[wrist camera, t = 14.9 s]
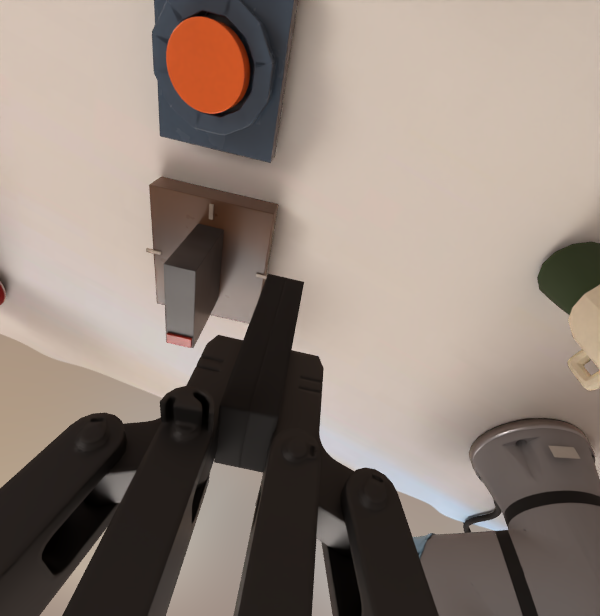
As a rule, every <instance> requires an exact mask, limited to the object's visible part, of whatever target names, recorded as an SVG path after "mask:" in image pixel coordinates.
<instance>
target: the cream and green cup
mask: <svg viewBox="0 0 600 616" xmlns="http://www.w3.org/2000/svg"><path fill="white" fill-rule="evenodd" d="M537 278H538V284H539V289H540V290H541V291H542V292H543V293H544V294H545V295H546V296H547V297H548V298H549V299H550V300H551V301H553V302H554V303H555V304H556V305H557V306H558V307H560V308H561V309H562V310H564V311H565V312H566V313H567V314H569V315H570V316H569V319H568V322H569V325H570V329H571V332H572V335H573V338H574V339H575V341H576V342H577V343H578V344H579V345H580V347H581V348H582V350H581V351H579V352H578V353H577V354H575V355H574V356H572V357H571V358H570V359H569V360H568V362H567V363H568V367H569V368H570V370H571V371H572V372H573V374H574V375H575V376H576V378H577V379H578V380H579V382H580V383H581V384H582V386H583V387H584V388H585V389H587V390H588V391H592V390H596V389H599V388H600V243H595V242H586V243H578V244H572V245H570V246H568V247H565V248H563V249H561V250H559V251H557V252H555V253H554V254H553V255H552V256H551V257H550V258H548V259H547V260H546V261H545V262H544V263H543V264H542V267H541V270H540V272H539V275H538V277H537ZM590 360H592V361H593V362H594V364H595V365H596V366H597V367H598V368H599V371H598V372H596V373H595V374H593V375H592V376H591V375H590V374H589V373H588V371H587V370H586V369H585V367H584V365H585V364H586V363H588V362H589V361H590Z"/></svg>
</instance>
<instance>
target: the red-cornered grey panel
mask: <svg viewBox="0 0 600 616" xmlns="http://www.w3.org/2000/svg"><path fill="white" fill-rule="evenodd" d="M223 236H224V230H223V229H219V228H215V227H211V226H206V225H202V224H197V225H196V227H195V228H194V229H193V230H192V231H191V232H190V234H189V235H188V236H187V237H186V238H185V239H184V241H183V242H182V243H181V244H180V245H179V246H178V248H177V249H176V250H175V251H174V252H173V253H172V255H171V256H170V257H169V258H168V259H167V260H166V262H165V263H164V289H165V317H166V342H167V343H171V344H175V345H180V346H184V347H189V348H191V347H192V348H194V346H195V344H196V342H197V340H198V338H199V336H200V334H201V332H202V330H203V328H204V326H205V324H206V322H207V320H208V318H209V316H210V314H211V312H212V310H213V308H214V306H215V304H216V302H217V300H218V296H219V284H220V272H221V260H222V248H223Z"/></svg>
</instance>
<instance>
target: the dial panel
mask: <svg viewBox="0 0 600 616" xmlns="http://www.w3.org/2000/svg"><path fill="white" fill-rule="evenodd" d="M149 188H150V204H151V219H152V234H153V249H154V250H153V249H149V248H147V249H146V251H147V252H149V253H153V254H154V264H155V279H156V295H157V303H158V304H163V305H165V289H164V263H165V262H166V260H167V259H168V258H169V257H170V256H171V255H172V253H173V252H174V251H175V250H176V249H177V248H178V246H179V245H180V244H181V243H182V242H183V241H184V239H185V238H186V237H187V236H188V235H189V234H190V232H191V231H192V230H193V229H194V228H195V227H196V225H197V224H202V225H206V226H211V227H215V228H219V229H223V230H224V236H223V248H222V260H221V272H220V284H219V296H218V300H217V302H216V304H215V306H214V308H213V310H212V312H211V314H210V315H213V316H217V317H222V318H226V319H231V320H235V321H240V322H244V323H249V324H250V321H251V318H252V316H253V313H254V310H255V308H256V305H257V302H258V299H259V297H260V294H261V291H262V289H263V286H264V283H265V280H266V278H267V270H268V264H269V258H270V252H271V246H272V240H273V234H274V228H275V223H276V217H277V211H278V204H274V203H270V202H266V201H262V200H258V199H253V198H249V197H245V196H241V195H236V194H232V193H228V192H224V191H220V190H215V189H211V188H207V187H203V186H199V185H194V184H190V183H186V182H182V181H177V180H173V179H169V178H165V177H160V178H159V179H157V180H156V181H154V182H153V183H151V184H150V185H149Z"/></svg>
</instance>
